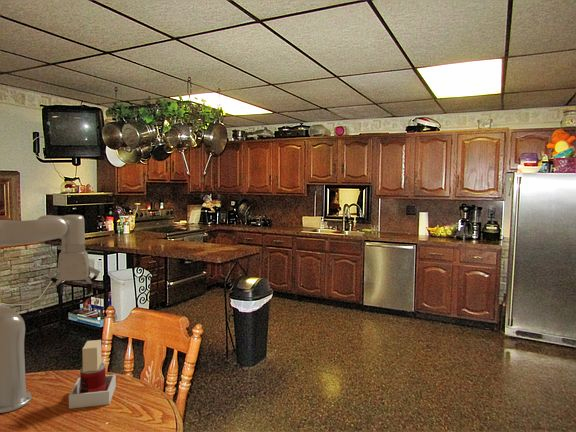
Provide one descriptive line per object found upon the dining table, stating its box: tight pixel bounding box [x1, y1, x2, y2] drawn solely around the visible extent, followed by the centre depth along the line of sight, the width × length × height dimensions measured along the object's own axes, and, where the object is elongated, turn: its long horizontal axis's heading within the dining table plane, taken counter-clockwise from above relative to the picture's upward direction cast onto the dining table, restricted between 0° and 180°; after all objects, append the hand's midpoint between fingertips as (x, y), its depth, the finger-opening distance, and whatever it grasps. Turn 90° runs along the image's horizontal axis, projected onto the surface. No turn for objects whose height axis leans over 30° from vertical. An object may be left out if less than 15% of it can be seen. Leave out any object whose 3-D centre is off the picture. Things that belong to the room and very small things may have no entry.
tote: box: [68, 374, 117, 409], centre depth 140 cm, size 12×12×4 cm
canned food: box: [79, 361, 107, 393], centre depth 140 cm, size 8×8×11 cm
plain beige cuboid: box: [81, 339, 103, 372], centre depth 139 cm, size 4×7×8 cm, turn 14°
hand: (74, 294), depth 149 cm, fingers open, 9 cm apart
